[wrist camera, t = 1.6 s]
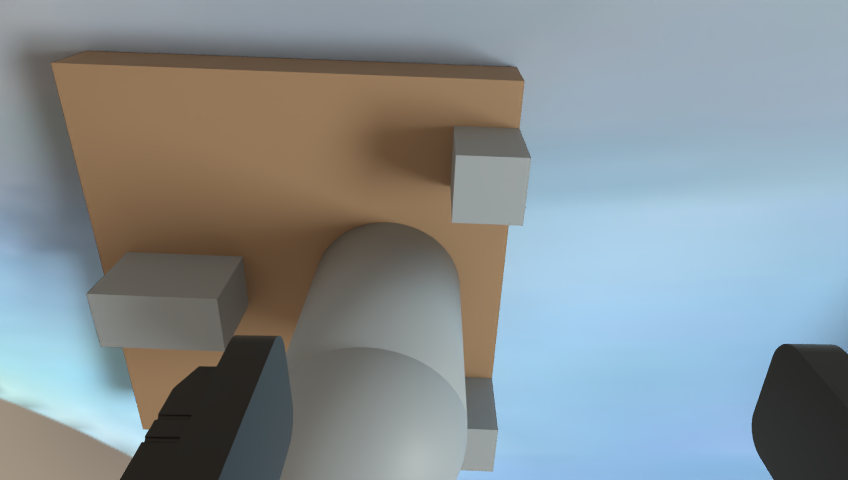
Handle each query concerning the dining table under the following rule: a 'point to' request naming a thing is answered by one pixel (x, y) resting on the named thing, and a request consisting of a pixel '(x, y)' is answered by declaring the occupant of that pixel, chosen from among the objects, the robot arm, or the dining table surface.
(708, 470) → the dining table surface
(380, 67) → the wooden peg board
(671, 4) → the dining table surface
